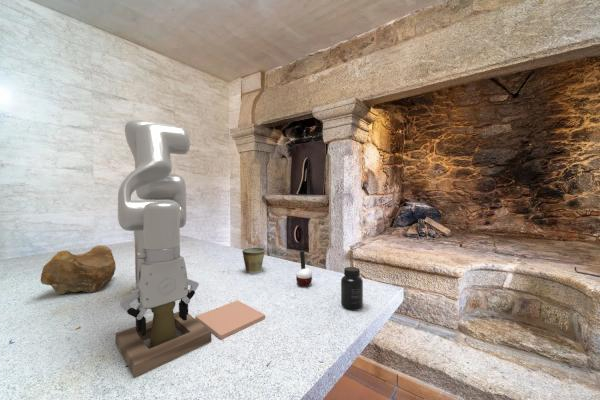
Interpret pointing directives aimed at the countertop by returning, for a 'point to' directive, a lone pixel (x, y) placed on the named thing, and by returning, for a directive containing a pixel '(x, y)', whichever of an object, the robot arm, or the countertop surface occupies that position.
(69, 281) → the rough brown rock
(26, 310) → the countertop surface
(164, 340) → the olive tall flared piece
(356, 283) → the supplement bottle
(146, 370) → the frame
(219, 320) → the terracotta tile
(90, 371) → the countertop surface
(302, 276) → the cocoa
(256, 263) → the ceramic cup
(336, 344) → the countertop surface
